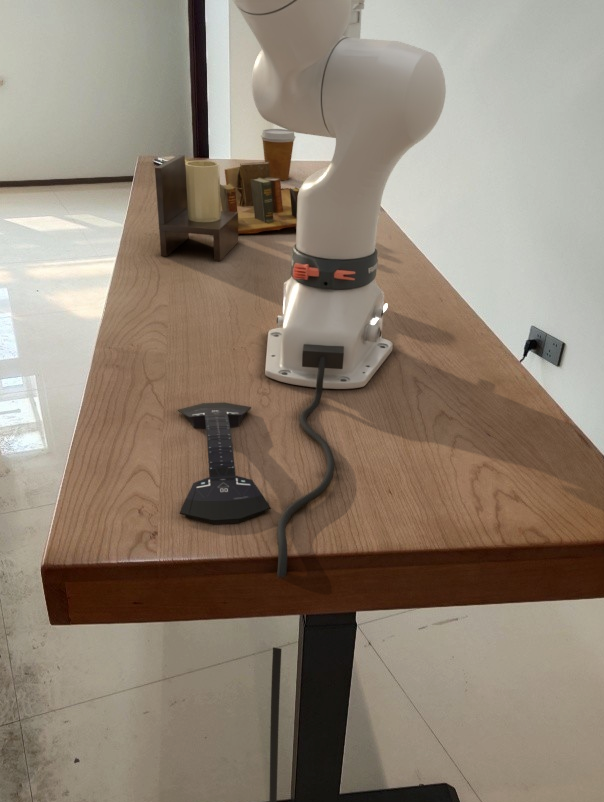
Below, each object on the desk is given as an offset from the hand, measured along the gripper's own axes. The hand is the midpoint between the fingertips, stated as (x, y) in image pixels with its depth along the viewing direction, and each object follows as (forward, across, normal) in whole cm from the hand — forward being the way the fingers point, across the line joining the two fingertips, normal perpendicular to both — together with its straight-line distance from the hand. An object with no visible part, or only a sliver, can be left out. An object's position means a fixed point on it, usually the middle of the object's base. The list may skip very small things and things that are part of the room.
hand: (338, 87), depth 118 cm
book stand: (+31, -41, -23) cm, 56 cm away
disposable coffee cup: (+31, -85, -28) cm, 95 cm away
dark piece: (+32, +66, -2) cm, 73 cm away
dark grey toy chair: (+31, -12, -28) cm, 43 cm away
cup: (+25, -12, -27) cm, 39 cm away
